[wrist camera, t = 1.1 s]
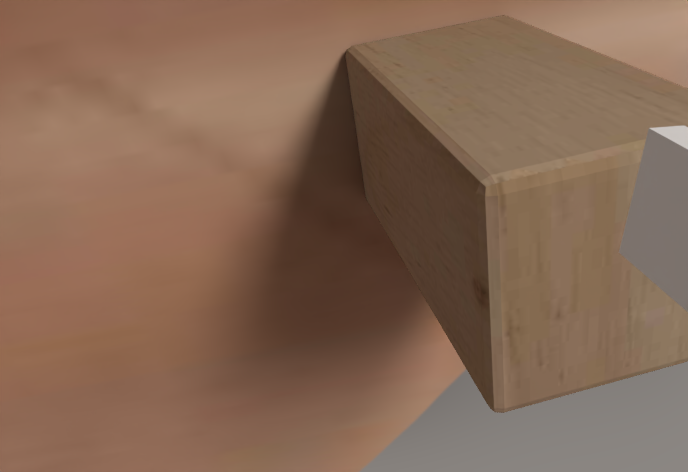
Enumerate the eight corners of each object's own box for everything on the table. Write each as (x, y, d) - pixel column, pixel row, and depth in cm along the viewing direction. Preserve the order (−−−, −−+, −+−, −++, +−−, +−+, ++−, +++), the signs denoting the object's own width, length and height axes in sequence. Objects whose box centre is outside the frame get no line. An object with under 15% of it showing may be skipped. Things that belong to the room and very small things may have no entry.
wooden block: (364, 201, 42) (492, 421, 25) (342, 45, 37) (481, 184, 20) (511, 167, 43) (729, 355, 26) (508, 12, 38) (775, 116, 21)
